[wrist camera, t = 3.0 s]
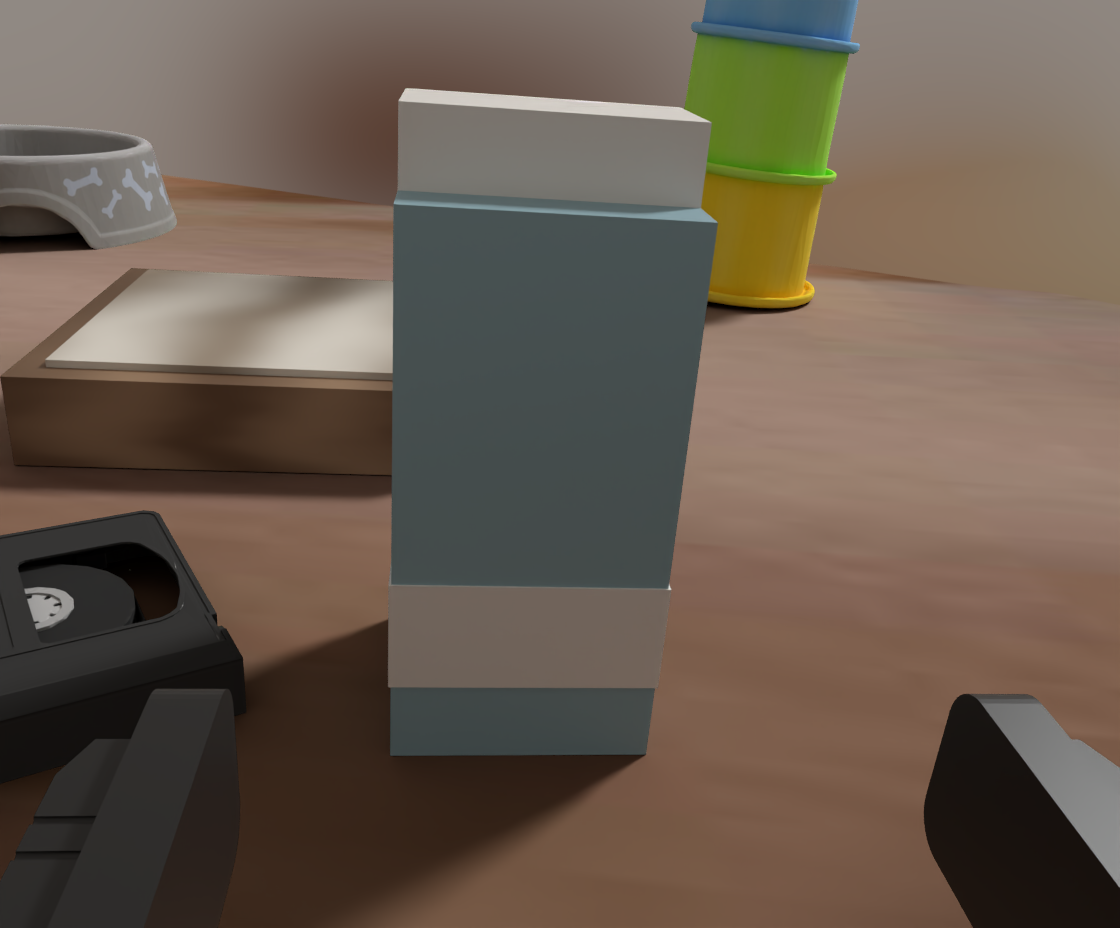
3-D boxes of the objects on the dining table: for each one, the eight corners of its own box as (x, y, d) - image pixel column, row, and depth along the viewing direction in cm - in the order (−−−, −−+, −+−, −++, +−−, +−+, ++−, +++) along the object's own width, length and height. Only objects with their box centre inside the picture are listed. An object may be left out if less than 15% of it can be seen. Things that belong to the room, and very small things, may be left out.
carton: (612, 614, 27) (669, 101, 22) (648, 755, 22) (733, 132, 17) (400, 612, 27) (406, 82, 21) (387, 757, 21) (390, 108, 16)
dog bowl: (-138, 201, 67) (-156, 116, 65) (158, 199, 75) (152, 122, 73) (-170, 263, 53) (-194, 157, 51) (197, 252, 61) (190, 160, 59)
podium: (453, 347, 47) (456, 278, 46) (453, 476, 34) (456, 385, 33) (138, 334, 45) (130, 262, 44) (14, 464, 33) (-1, 368, 31)
